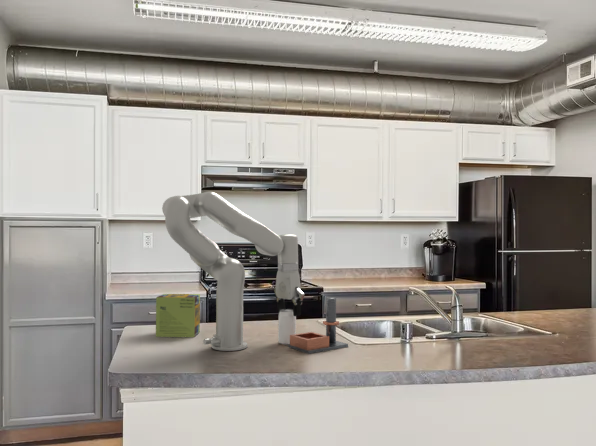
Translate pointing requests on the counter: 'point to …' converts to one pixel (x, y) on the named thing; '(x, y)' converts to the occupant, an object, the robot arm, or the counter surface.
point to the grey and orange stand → (316, 341)
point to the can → (286, 326)
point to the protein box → (177, 315)
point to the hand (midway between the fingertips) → (289, 313)
